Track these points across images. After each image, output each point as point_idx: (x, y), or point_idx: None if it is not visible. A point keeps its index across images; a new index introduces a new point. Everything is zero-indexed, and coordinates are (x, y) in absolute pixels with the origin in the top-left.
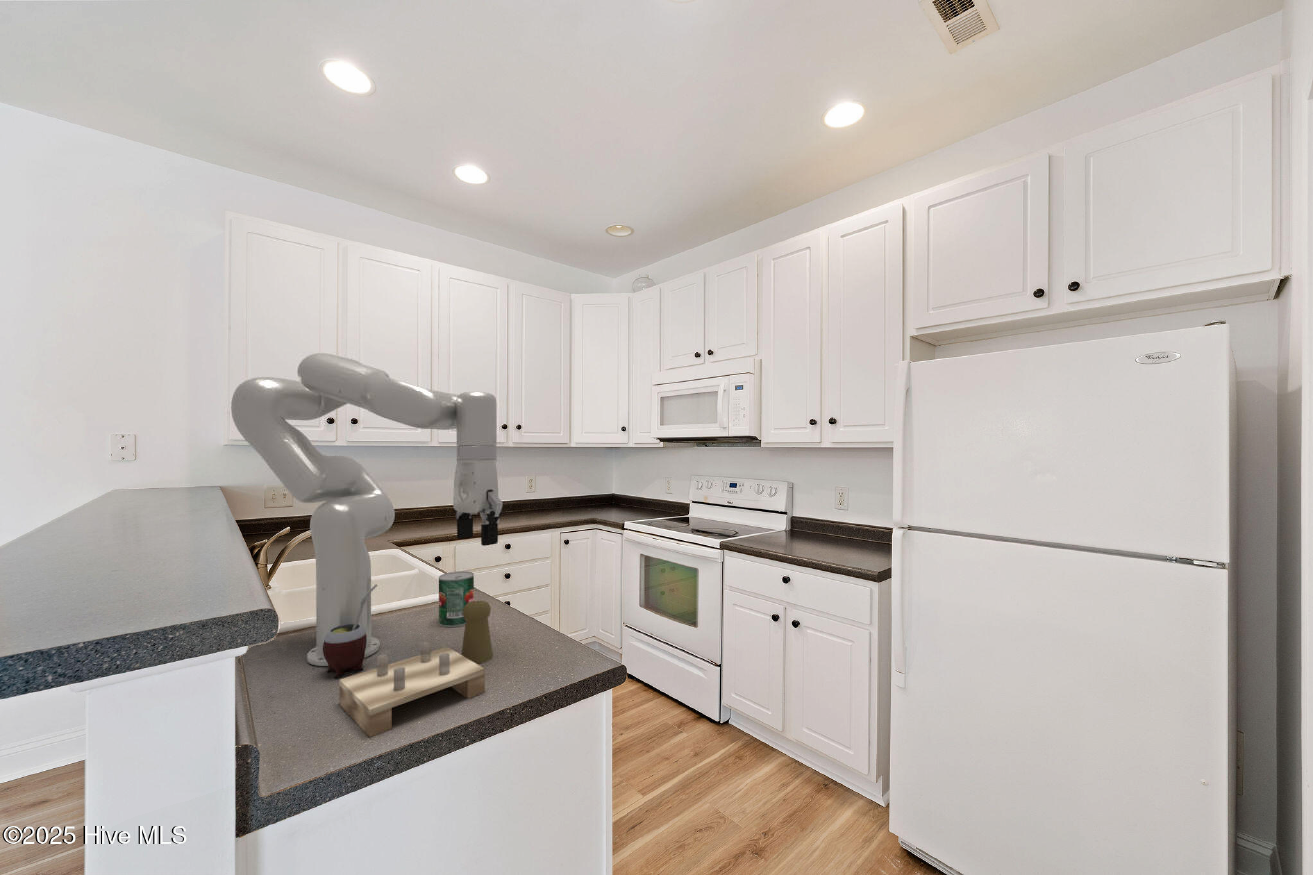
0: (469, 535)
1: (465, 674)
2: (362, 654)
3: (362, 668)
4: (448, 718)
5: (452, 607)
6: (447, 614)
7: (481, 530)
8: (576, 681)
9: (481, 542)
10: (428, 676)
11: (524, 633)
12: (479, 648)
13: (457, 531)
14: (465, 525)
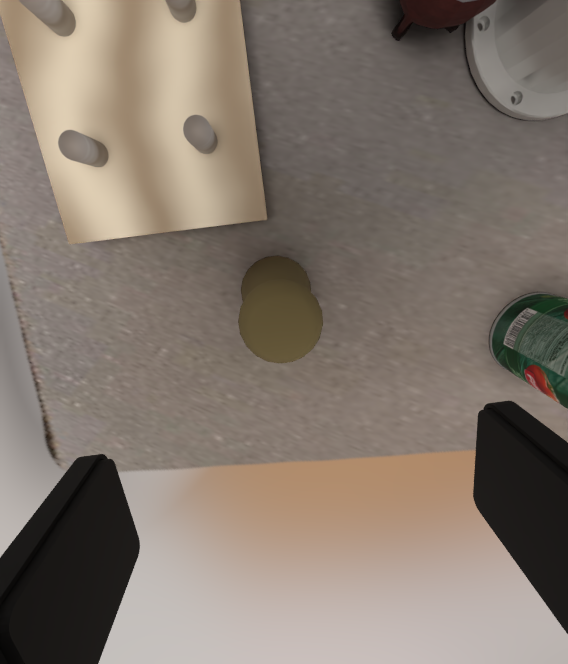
0: (483, 490)
1: (59, 194)
2: (405, 12)
3: (396, 34)
4: (17, 135)
5: (535, 327)
6: (532, 311)
7: (20, 555)
8: (42, 396)
9: (86, 464)
10: (98, 112)
11: (336, 420)
12: (244, 292)
13: (541, 433)
14: (552, 537)
